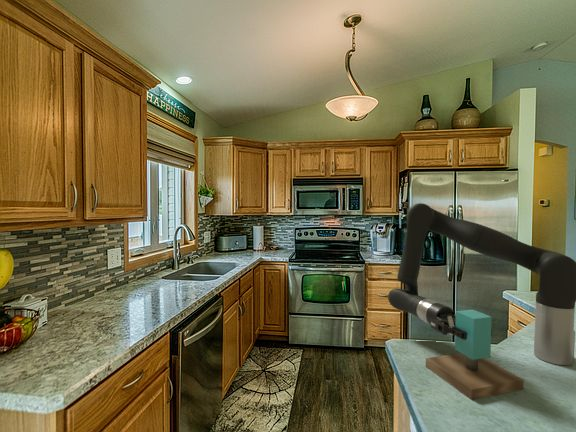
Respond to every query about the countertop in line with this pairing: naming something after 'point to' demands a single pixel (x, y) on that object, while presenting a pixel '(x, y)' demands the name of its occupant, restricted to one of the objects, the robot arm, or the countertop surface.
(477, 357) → the tall teal pillar
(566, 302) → the robot arm
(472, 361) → the post stand
